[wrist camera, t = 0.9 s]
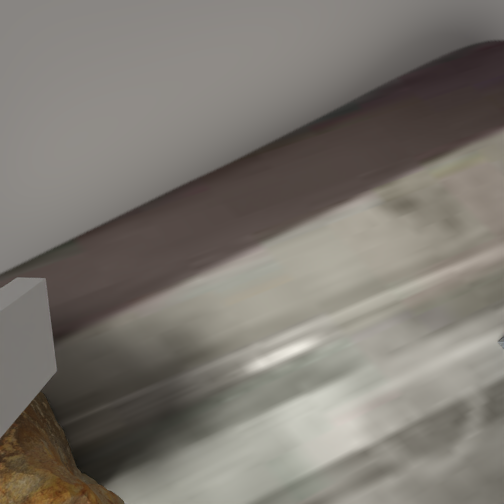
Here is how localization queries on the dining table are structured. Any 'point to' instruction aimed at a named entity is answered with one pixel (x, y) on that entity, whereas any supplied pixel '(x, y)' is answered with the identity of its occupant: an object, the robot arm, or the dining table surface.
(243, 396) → the dining table surface
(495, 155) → the dining table surface
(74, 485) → the rough brown rock
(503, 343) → the tunnel
